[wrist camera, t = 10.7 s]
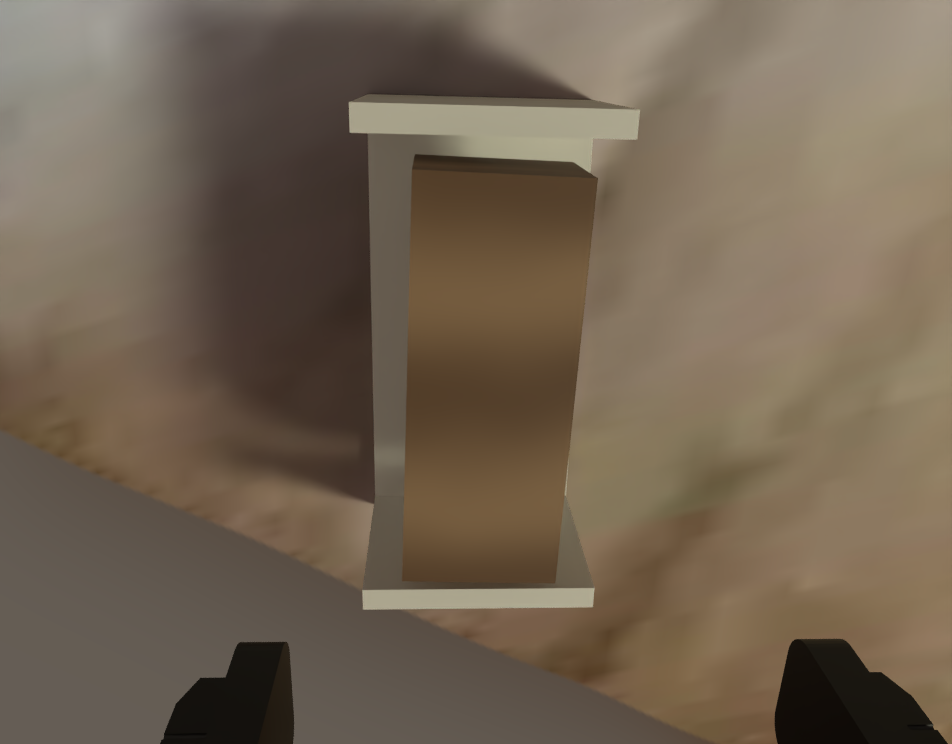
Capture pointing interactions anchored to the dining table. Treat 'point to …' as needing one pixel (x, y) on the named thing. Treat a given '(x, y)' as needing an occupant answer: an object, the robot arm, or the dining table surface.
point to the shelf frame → (390, 175)
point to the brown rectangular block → (492, 363)
